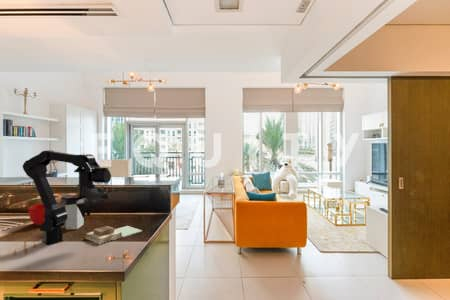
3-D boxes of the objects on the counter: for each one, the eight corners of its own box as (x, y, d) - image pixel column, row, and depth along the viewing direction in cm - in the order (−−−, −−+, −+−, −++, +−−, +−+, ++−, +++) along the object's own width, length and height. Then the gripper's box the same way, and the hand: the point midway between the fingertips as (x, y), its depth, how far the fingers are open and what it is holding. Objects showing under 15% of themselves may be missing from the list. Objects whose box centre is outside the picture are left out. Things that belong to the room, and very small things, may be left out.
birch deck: (99, 244, 115) (99, 238, 114) (85, 238, 121) (85, 233, 121) (121, 237, 123) (121, 232, 123) (107, 232, 130) (107, 227, 130)
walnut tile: (100, 236, 118) (100, 231, 118) (93, 233, 121) (93, 229, 121) (114, 232, 124) (114, 228, 124) (107, 229, 127) (107, 225, 127)
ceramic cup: (67, 219, 153) (67, 202, 153) (44, 228, 136) (44, 209, 136) (47, 218, 155) (47, 201, 154) (22, 226, 138) (22, 208, 138)
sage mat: (123, 237, 124) (123, 236, 124) (108, 232, 131) (108, 231, 131) (142, 231, 133) (142, 230, 133) (127, 226, 140) (127, 225, 140)
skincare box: (77, 229, 134) (77, 201, 134) (65, 229, 134) (65, 201, 133) (83, 224, 143) (84, 198, 143) (72, 225, 142) (72, 198, 142)
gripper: (72, 186, 103) (72, 225, 103) (115, 181, 118) (115, 215, 118) (60, 184, 109) (60, 220, 110) (102, 179, 125) (102, 211, 125)
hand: (85, 216), depth 115 cm, fingers closed
